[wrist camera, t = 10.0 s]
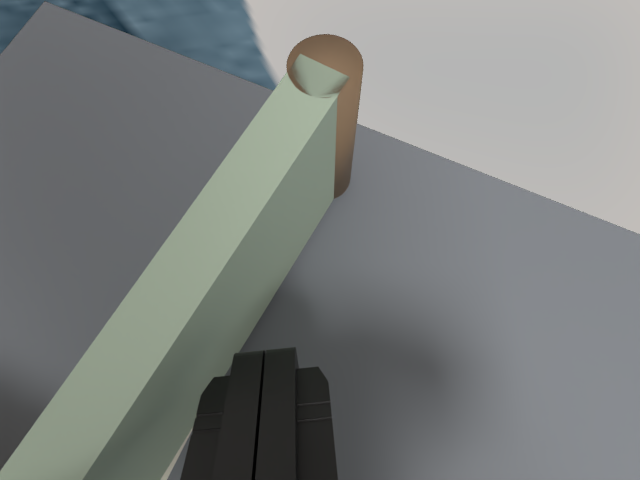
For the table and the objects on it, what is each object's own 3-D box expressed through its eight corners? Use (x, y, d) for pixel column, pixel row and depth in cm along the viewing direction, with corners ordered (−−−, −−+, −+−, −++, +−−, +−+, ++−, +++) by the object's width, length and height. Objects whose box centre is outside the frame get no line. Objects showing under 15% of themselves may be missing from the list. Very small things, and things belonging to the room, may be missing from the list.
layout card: (599, 1123, 11) (611, 1154, 10) (-337, 479, 15) (-357, 482, 15) (747, 282, 17) (758, 280, 16) (49, 7, 22) (43, 0, 21)
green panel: (72, 649, 13) (-164, 900, 7) (12, 600, 13) (-264, 794, 7) (363, 171, 18) (383, 56, 11) (312, 145, 18) (304, 20, 12)
